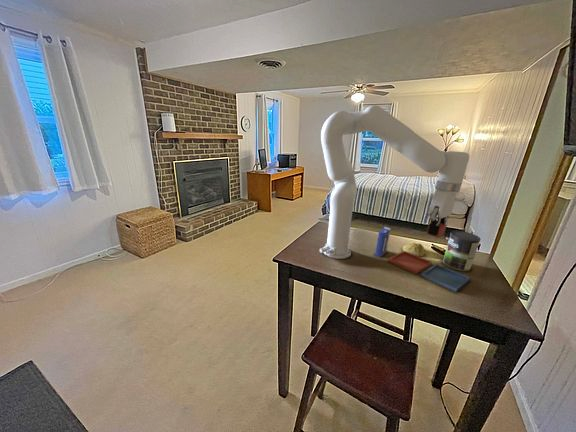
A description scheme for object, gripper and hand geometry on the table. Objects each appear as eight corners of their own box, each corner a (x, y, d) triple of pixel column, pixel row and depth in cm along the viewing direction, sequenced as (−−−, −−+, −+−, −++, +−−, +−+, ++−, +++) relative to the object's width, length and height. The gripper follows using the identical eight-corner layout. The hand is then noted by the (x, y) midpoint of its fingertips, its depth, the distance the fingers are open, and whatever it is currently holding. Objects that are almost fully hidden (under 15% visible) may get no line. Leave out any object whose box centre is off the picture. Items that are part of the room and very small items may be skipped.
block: (438, 238, 91) (441, 226, 89) (426, 233, 94) (429, 223, 92) (443, 235, 93) (446, 224, 92) (431, 231, 97) (434, 221, 95)
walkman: (381, 257, 108) (385, 232, 105) (374, 255, 110) (379, 230, 106) (386, 251, 114) (391, 227, 110) (380, 249, 116) (385, 226, 112)
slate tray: (455, 293, 85) (457, 289, 85) (420, 276, 94) (421, 273, 94) (469, 280, 93) (470, 277, 92) (435, 267, 102) (436, 263, 101)
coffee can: (450, 271, 99) (460, 239, 95) (437, 258, 109) (445, 229, 105) (476, 272, 99) (487, 241, 94) (461, 260, 109) (469, 231, 104)
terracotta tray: (416, 274, 96) (416, 271, 95) (387, 261, 105) (388, 258, 104) (430, 265, 103) (431, 261, 103) (403, 253, 112) (404, 250, 112)
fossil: (406, 234, 119) (429, 239, 114) (404, 243, 122) (426, 249, 117) (401, 247, 111) (426, 253, 106) (399, 257, 114) (423, 263, 109)
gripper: (446, 183, 95) (434, 226, 101) (426, 186, 85) (414, 234, 91) (468, 186, 89) (454, 232, 95) (449, 191, 80) (435, 241, 86)
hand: (435, 232), depth 93 cm, fingers closed on block, 4 cm apart
